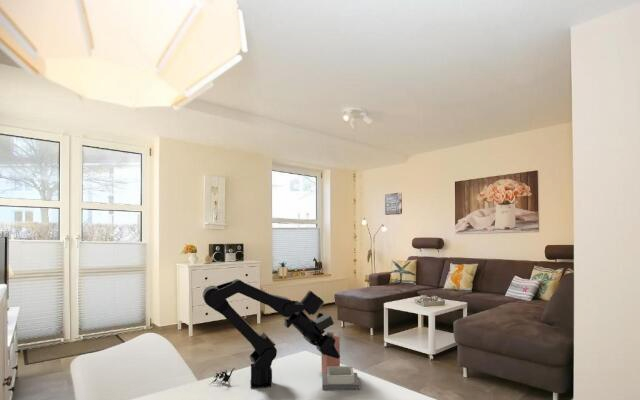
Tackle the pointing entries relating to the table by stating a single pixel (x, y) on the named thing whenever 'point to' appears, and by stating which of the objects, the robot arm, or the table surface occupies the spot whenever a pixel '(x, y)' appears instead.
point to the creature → (223, 376)
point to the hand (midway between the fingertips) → (334, 353)
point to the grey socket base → (340, 378)
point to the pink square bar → (330, 360)
